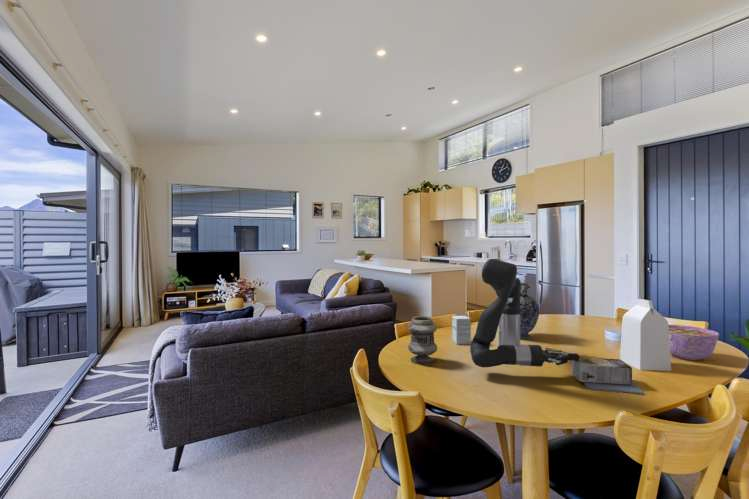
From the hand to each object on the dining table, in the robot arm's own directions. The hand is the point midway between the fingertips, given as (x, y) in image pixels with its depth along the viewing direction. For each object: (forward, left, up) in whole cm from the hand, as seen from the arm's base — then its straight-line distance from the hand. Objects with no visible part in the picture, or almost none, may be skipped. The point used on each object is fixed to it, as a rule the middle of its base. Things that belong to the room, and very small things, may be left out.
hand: (578, 357), depth 129 cm
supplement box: (-44, +37, -8) cm, 58 cm away
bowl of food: (+49, +41, -8) cm, 64 cm away
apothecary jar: (-57, +4, -8) cm, 58 cm away
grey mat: (+9, -1, -8) cm, 12 cm away
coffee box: (-1, 0, -4) cm, 4 cm away
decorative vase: (-16, +56, -8) cm, 59 cm away
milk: (+28, +24, -8) cm, 38 cm away
